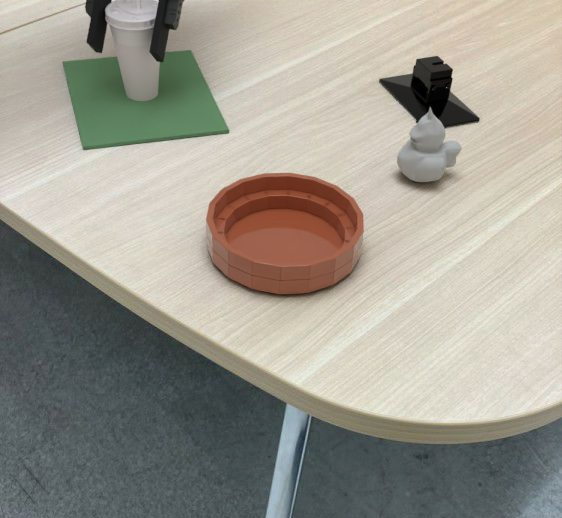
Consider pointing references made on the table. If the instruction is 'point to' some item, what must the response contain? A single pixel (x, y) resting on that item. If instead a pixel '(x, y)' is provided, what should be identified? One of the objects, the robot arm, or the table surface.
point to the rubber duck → (427, 151)
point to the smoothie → (135, 45)
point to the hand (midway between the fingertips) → (125, 52)
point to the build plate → (430, 93)
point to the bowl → (284, 232)
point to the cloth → (141, 103)
